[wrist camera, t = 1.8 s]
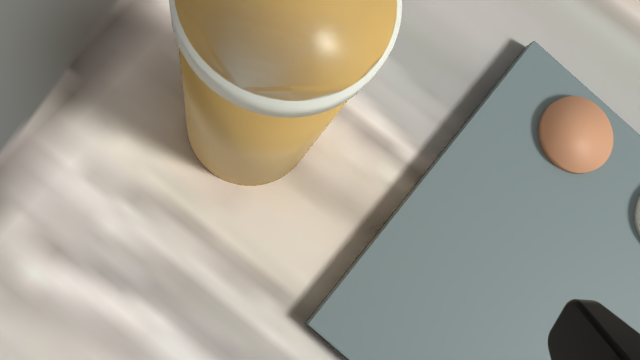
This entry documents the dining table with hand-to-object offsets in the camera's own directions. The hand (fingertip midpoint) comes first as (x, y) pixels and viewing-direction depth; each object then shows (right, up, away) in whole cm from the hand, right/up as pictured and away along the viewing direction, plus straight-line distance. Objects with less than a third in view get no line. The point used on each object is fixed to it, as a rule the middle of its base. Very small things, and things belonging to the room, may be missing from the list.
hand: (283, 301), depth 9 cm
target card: (+9, -2, +14) cm, 17 cm away
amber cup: (-2, +4, +13) cm, 13 cm away
